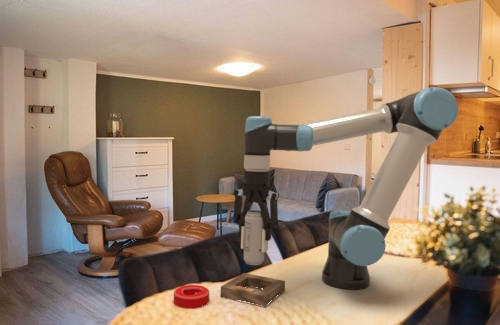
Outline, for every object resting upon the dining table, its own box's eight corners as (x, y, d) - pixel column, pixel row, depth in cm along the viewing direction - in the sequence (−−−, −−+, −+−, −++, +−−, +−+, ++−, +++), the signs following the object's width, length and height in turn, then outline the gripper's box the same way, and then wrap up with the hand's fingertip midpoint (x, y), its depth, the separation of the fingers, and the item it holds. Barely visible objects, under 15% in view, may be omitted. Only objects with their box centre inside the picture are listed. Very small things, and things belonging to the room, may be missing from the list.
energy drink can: (264, 266, 108) (266, 213, 107) (243, 265, 108) (244, 212, 107) (264, 260, 114) (265, 210, 113) (243, 259, 114) (245, 209, 113)
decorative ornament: (180, 294, 110) (181, 283, 110) (213, 297, 109) (213, 286, 109) (168, 307, 101) (168, 295, 101) (203, 310, 99) (203, 298, 99)
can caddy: (284, 290, 114) (285, 279, 114) (265, 307, 102) (265, 295, 102) (243, 282, 121) (243, 271, 120) (220, 297, 108) (220, 285, 108)
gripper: (292, 171, 109) (289, 251, 110) (234, 168, 118) (232, 242, 118) (282, 172, 102) (279, 257, 103) (221, 169, 111) (219, 247, 112)
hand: (254, 249), depth 111 cm, fingers closed on energy drink can, 6 cm apart
